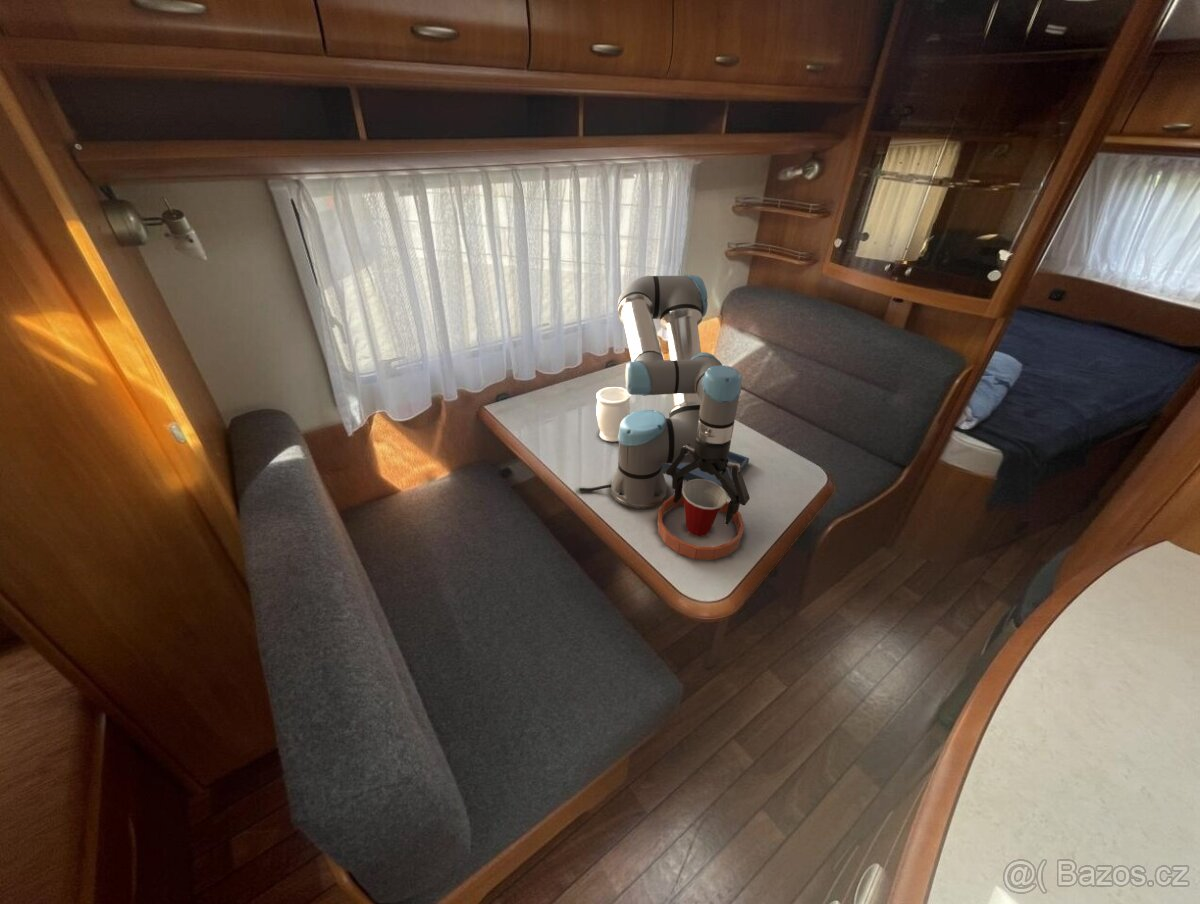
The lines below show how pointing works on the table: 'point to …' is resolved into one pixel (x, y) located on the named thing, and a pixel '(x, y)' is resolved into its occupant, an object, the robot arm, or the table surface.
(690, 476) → the tray
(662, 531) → the ring
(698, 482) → the plastic cup
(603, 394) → the jar
